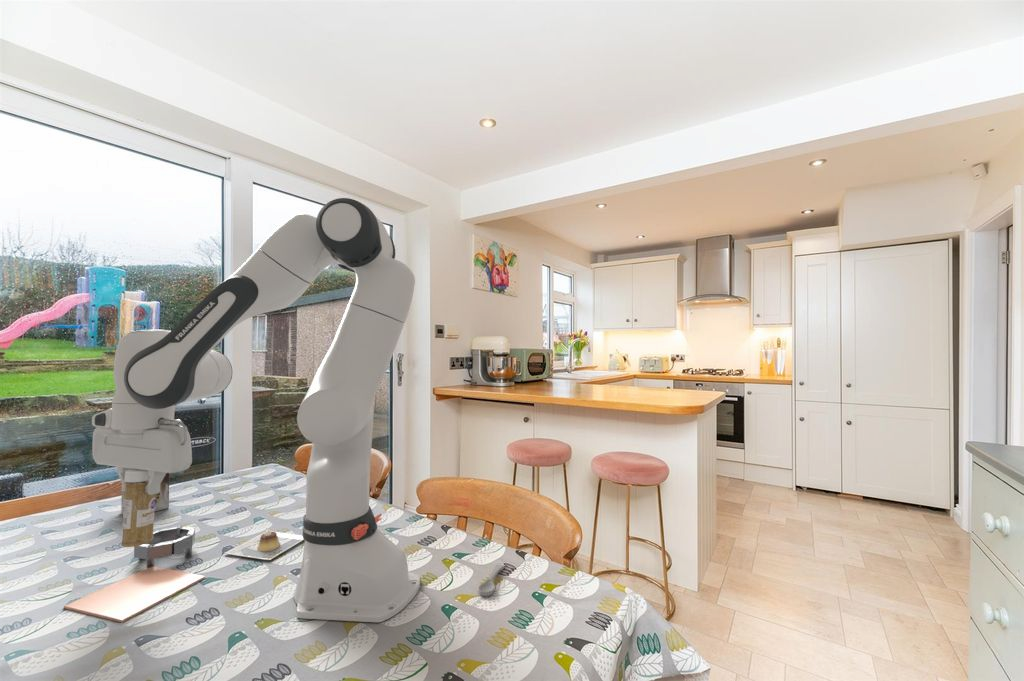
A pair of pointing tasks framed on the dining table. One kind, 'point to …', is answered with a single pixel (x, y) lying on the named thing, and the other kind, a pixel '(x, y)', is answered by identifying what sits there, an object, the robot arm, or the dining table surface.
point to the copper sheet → (134, 593)
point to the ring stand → (166, 544)
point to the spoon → (490, 582)
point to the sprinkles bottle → (137, 509)
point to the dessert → (266, 543)
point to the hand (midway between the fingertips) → (140, 492)
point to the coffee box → (157, 495)
